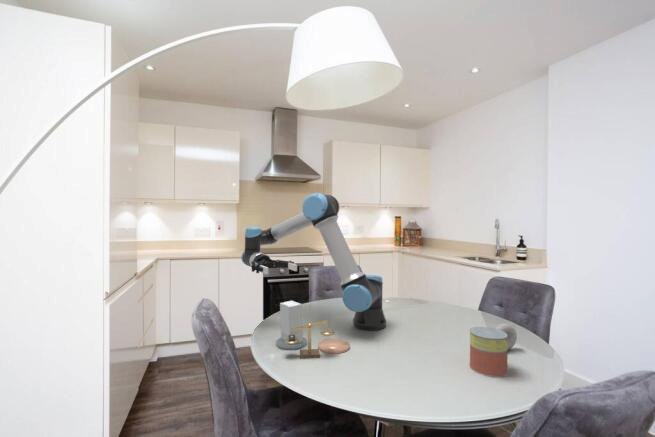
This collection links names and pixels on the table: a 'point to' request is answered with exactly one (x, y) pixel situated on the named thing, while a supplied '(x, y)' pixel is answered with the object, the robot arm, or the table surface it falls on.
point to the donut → (511, 334)
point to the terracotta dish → (333, 346)
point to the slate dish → (284, 346)
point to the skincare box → (291, 319)
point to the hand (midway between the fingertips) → (282, 269)
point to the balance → (308, 352)
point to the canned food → (488, 351)
